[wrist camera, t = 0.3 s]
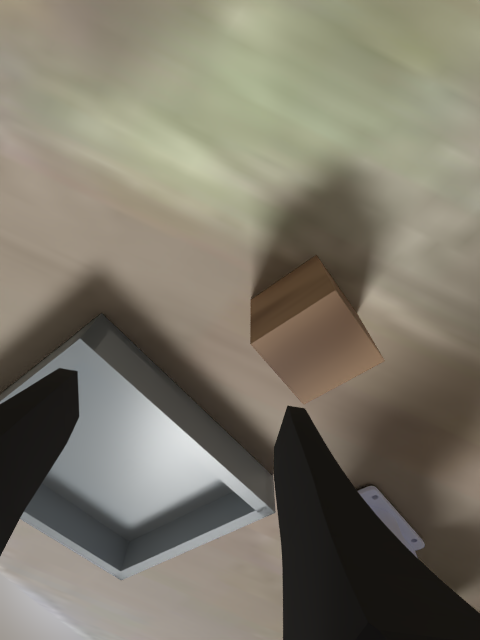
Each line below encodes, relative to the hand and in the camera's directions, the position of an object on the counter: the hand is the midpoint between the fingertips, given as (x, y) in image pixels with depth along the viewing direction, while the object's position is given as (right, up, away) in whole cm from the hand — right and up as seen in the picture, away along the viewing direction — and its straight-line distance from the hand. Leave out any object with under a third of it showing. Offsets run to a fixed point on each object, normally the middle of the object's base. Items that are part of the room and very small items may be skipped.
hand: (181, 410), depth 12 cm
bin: (-7, -7, +15) cm, 18 cm away
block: (+6, +4, +9) cm, 11 cm away
